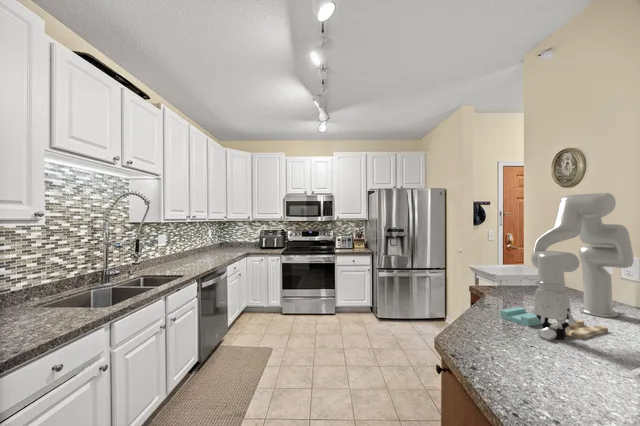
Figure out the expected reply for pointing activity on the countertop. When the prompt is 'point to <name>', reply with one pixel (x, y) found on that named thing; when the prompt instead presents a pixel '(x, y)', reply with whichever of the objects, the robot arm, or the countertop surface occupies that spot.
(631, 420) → the countertop surface
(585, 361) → the countertop surface
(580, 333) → the wooden grooved block
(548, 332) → the axle
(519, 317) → the cradle
